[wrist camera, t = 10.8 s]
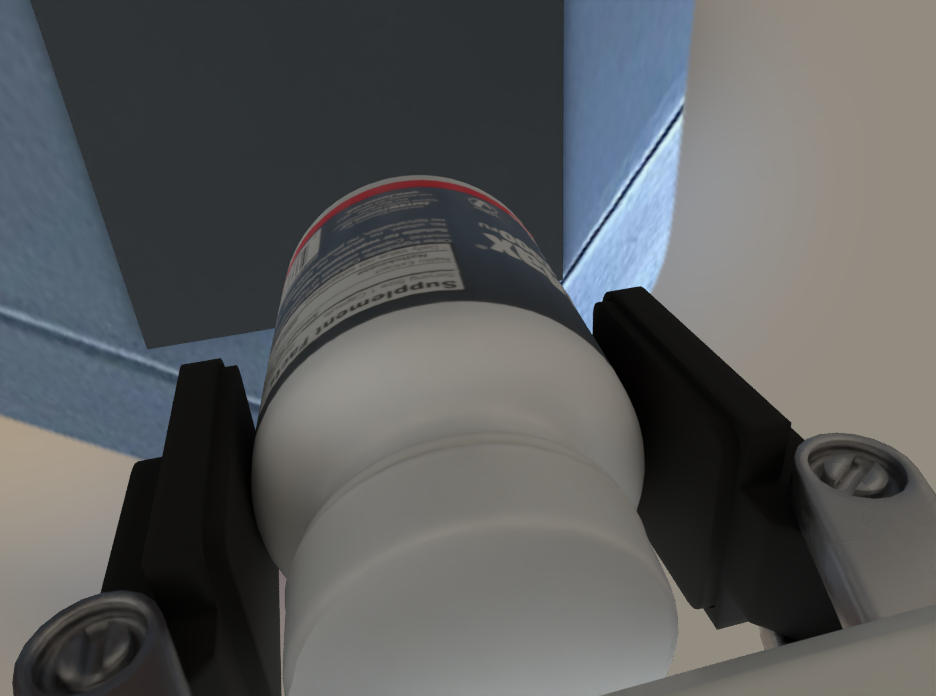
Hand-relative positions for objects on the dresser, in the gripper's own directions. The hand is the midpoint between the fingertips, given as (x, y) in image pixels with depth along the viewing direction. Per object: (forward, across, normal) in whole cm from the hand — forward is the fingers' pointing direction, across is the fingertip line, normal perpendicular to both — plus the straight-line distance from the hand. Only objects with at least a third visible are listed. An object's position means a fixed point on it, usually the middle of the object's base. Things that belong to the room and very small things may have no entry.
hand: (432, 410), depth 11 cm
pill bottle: (+4, 0, 0) cm, 4 cm away
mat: (+16, 0, 0) cm, 16 cm away
